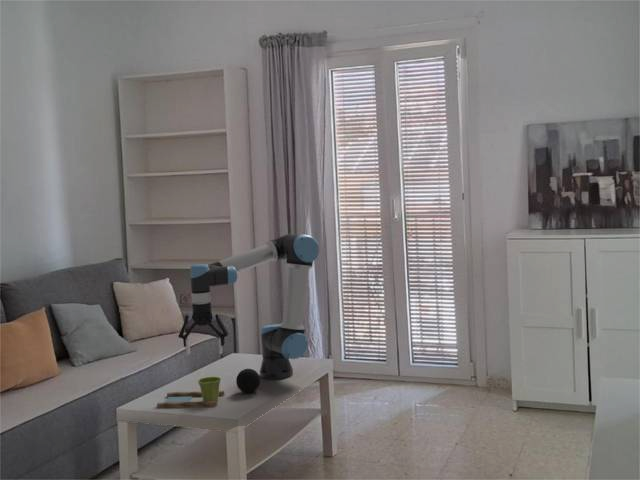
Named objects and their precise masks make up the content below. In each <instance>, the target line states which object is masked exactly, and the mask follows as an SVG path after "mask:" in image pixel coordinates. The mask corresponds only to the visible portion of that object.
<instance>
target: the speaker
mask: <svg viewBox="0 0 640 480" xmlns="http://www.w3.org/2000/svg"><path fill="white" fill-rule="evenodd" d="M235 382H236V386H237V388H238V390H240V392H243V393H245V394H250V393H254V392H255V391H256V390H257V389H258V388H259V387H260V384H261V377H260V373H258V372H257V371H256V370H255V369H252V368H244V369H242V370H240V372H238V374H237V376H236V380H235Z"/></svg>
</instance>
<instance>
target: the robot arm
mask: <svg viewBox="0 0 640 480" xmlns="http://www.w3.org/2000/svg"><path fill="white" fill-rule="evenodd" d="M319 252H320V246H319V243H318V242H317V240H316V239H315V238H314V237H313V236H311V235H308V234H304V233H303V234H300V233H299V234H297V233H288V234H284V235H281V236H278V237H276V238H274V239H271V240H269V241H267V242H266V243H265V244H264V245H260V246H258V247H255V248H252V249H250V250H247V251H244V252H241V253H238V254H235V255H232V256H230V257H227V258H224V259H220V260H218V261H216V262H212V263H209V264H208V263H201V264H199V263H198V264H197V263H196V264H193V265H191V266H190V268H189V270H190V271H189V277H190V287H191V288H190V289H191V303H192V304H191V306H192V307H191V308H192V314H188V313H187V314H186V315H185V316H184V321H183V324H182V327H181V329H180V331H179V334H178V338H179V339H183V341H182V342H183V343H182V344H183V347H184V348H186V349H185V351H186V356H189V355H191V346H190V345H191V344H190V338H189V335H190V334H191V333H192V332H193V330H194V329H195V328H196V327H197V326H198V327H201V326H207V325H208V326H209V327H210V328H211V329H212V330H213V331H214V332H215V334H216V335H218V352H219V355H222V354H223V346H225V344H226V342H225V337H228V336H229V334H230V333H229V332H228V329H227V328H226V326H225V325H224V323H223V320H222V319H221V316H220V315H221V314H220V313H215V314H213V313H212V303H211V287H218V286H219V287H221V286H226V285H227V286H229V285H232V284H236V283H237V281H238V273H241V272H243V271H246V270H249V269H251V268H254V267H257V266H260V265H263V264H266V263H268V262H271V261H272V262H277V261H282V260H283V261H284V260H286V262H285V264H286V266H287V267H288V274H287V275H288V276H287V281H286V282H287V284H286V291H285V299H284V307H283V317H282V322H281V323H275V324H269V325H265V326H263V327H261V329H260V336H261V337H260V338H261V339H260V340H261V352H262V360H261V363H260V364H261V366H260V369H259V377H260V379H266V380H280V379H285V378H286V379H287V378H289V377H292V375H294V368H293V366H292V363H291V361H290V360H298V359H300V358H302V357H303V356H304V354H306V352H307V350H308V347H309V341H308V338H307V337H306V335H305V333H306V328H305V326H304V325H303V320H304V311H305V302H306V294H307V285H308V276H309V270H310V269H311V268H312V267H313V263H314V261H315V260H316V259H317V258H318V256H319ZM191 319H192V321H194V322H193V323H192V325H191V326H190V328H188V330H187V331H186V329H187V327H188V324H189V323H190V321H191ZM212 319H214V320H215V321H216V323H217V325H218V326H219V327H218V326H217V325H216V324H215V323H214V321H213V320H212ZM185 332H186V333H185Z"/></svg>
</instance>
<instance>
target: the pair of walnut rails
mask: <svg viewBox="0 0 640 480" xmlns="http://www.w3.org/2000/svg"><path fill="white" fill-rule="evenodd" d="M189 396H192V398H195V397H196V398H197V397H202V392H201V391H177V392H176V391H175V392H174V391H172V392H171V391H170V392H167V393H166V398H168V397H189ZM224 396H225V390H219V397H224ZM164 402H165V401H164ZM164 402H157V403H156V408H157V409H162V408H163V409H165V408H167V409H168V408H200V407H201V408H203V407H204V408H205V407H217V406H218V400H217V401H203V400H202V401H189V402H165V403H164Z"/></svg>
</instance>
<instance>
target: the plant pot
mask: <svg viewBox="0 0 640 480" xmlns="http://www.w3.org/2000/svg"><path fill="white" fill-rule="evenodd" d="M221 380H222V378H221V377H219V376H206V377H203V378H200V379H198V380H197V383H198V384H199V386H200V387H199V388H200V392H202V396H201V397H202V401H217V402H218V400H219V397H220V396H219V391H220V385H221Z"/></svg>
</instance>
